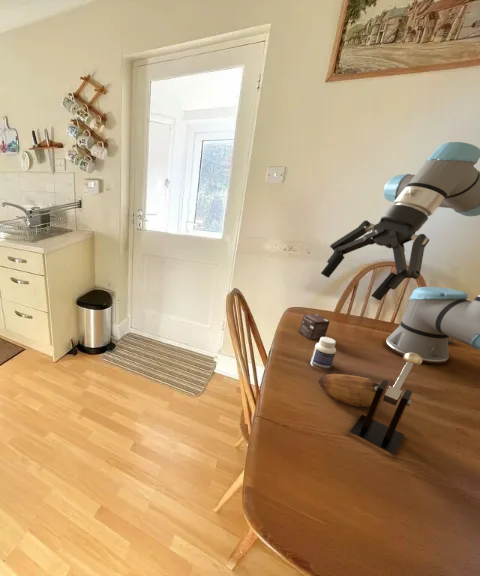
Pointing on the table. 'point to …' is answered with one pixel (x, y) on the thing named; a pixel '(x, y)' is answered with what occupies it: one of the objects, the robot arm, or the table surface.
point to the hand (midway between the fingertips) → (348, 286)
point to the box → (314, 326)
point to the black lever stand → (379, 432)
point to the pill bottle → (324, 353)
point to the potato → (349, 388)
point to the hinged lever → (402, 378)
